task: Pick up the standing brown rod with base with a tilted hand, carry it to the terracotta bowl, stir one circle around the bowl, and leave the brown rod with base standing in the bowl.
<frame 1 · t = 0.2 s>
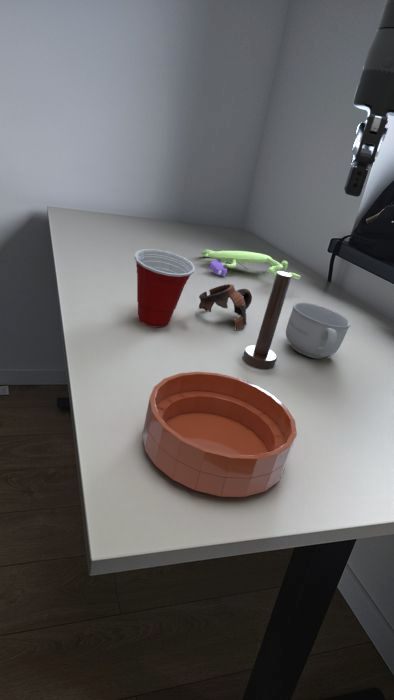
hand: (351, 193, 74), 30 cm above the table, tool pointing down, fingers open, 8 cm apart
bowl: (212, 450, 60), on the table
plastic cup: (153, 322, 91), on the table
teacup: (309, 355, 92), on the table
brown curved piece: (224, 320, 99), on the table
figurine: (248, 274, 132), on the table
brown rod with base: (258, 361, 85), on the table
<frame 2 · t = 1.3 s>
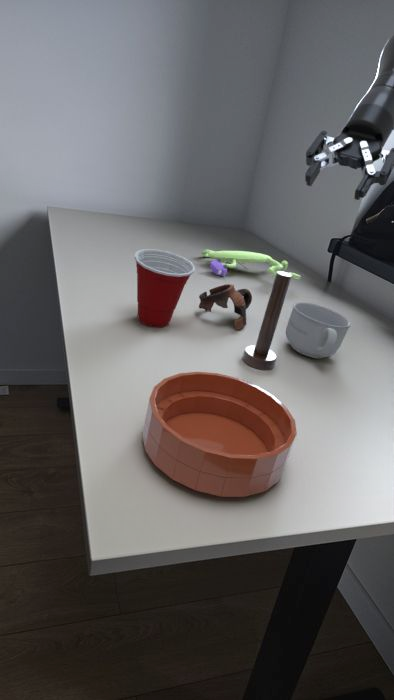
hand: (332, 189, 82), 29 cm above the table, tool tilted 45°, fingers open, 8 cm apart
nothing on the table moved.
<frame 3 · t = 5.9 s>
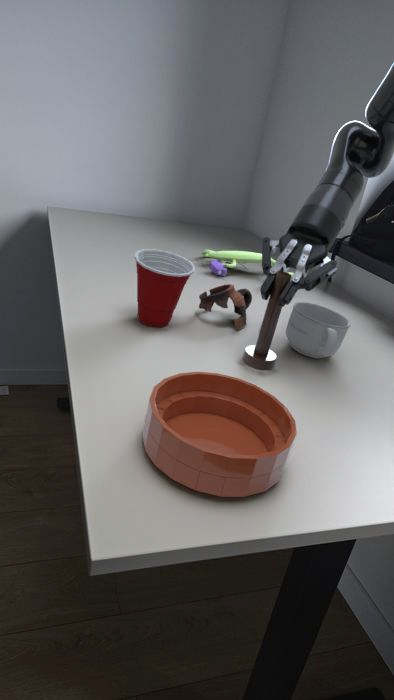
hand: (272, 300, 78), 12 cm above the table, tool tilted 45°, fingers closed on brown rod with base, 2 cm apart
brown rod with base: (258, 361, 85), on the table, touching gripper
everything else where it was.
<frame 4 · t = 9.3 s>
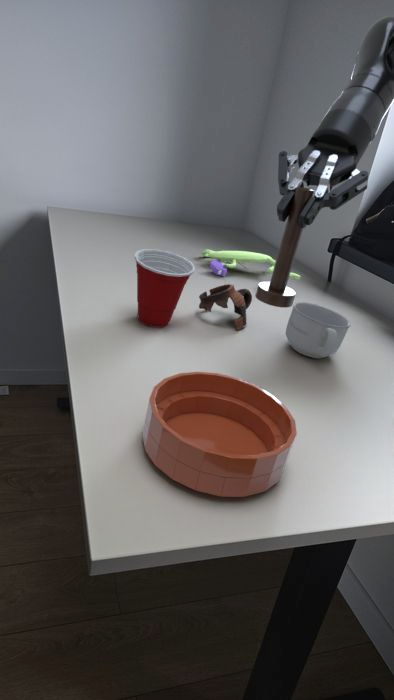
hand: (291, 220, 66), 26 cm above the table, tool tilted 45°, fingers closed on brown rod with base, 2 cm apart
brown rod with base: (273, 300, 72), point 14 cm above the table, touching gripper
everything else where it was.
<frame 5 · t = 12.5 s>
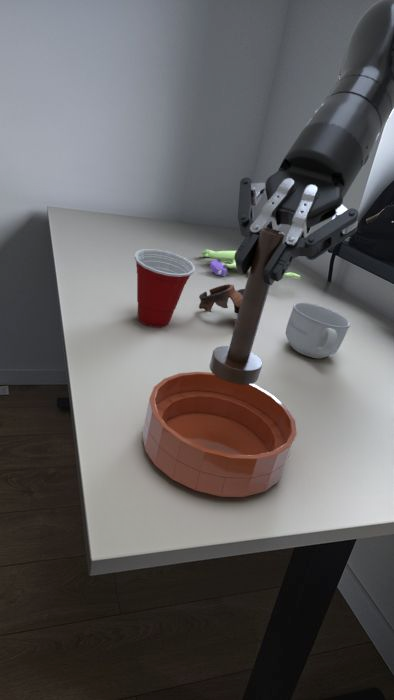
hand: (253, 273, 48), 23 cm above the table, tool tilted 45°, fingers closed on brown rod with base, 2 cm apart
brown rod with base: (233, 371, 55), point 11 cm above the table, touching gripper
everything else where it was.
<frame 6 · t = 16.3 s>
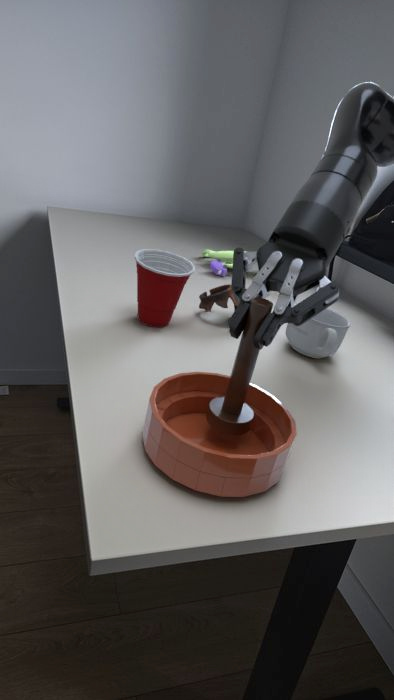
hand: (245, 339, 54), 15 cm above the table, tool tilted 45°, fingers closed on brown rod with base, 2 cm apart
brown rod with base: (228, 421, 61), point 3 cm above the table, touching gripper
everything else where it was.
when the fingers open (13 cm above the table, at t = 19.1 s): brown rod with base stays where it is, resting on bowl.
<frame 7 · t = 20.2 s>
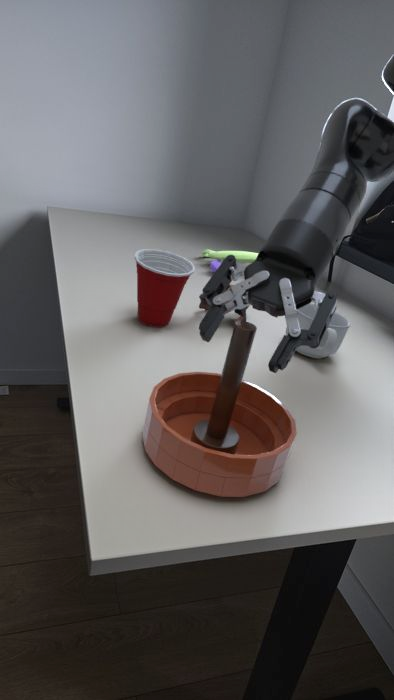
hand: (236, 353, 53), 14 cm above the table, tool tilted 45°, fingers open, 8 cm apart
brown rod with base: (213, 444, 60), point 1 cm above the table, touching bowl
everything else where it was.
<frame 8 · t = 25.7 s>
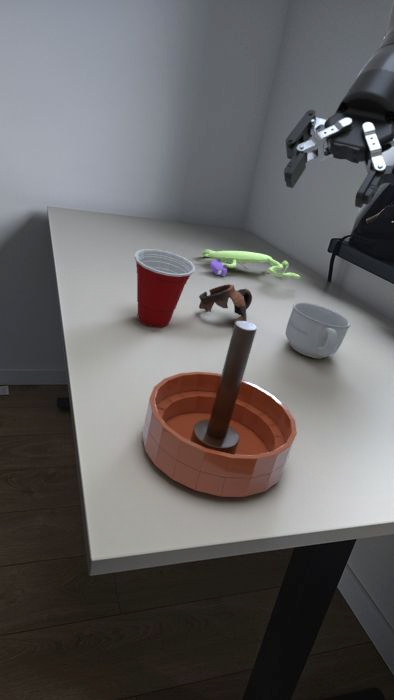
hand: (322, 192, 56), 31 cm above the table, tool tilted 45°, fingers open, 8 cm apart
nothing on the table moved.
at the end: brown rod with base inside the target area in the bowl (0.1 cm from its centre), point 0.8 cm above the bowl's base; brown rod with base tilted 0°; the gripper is holding nothing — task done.
